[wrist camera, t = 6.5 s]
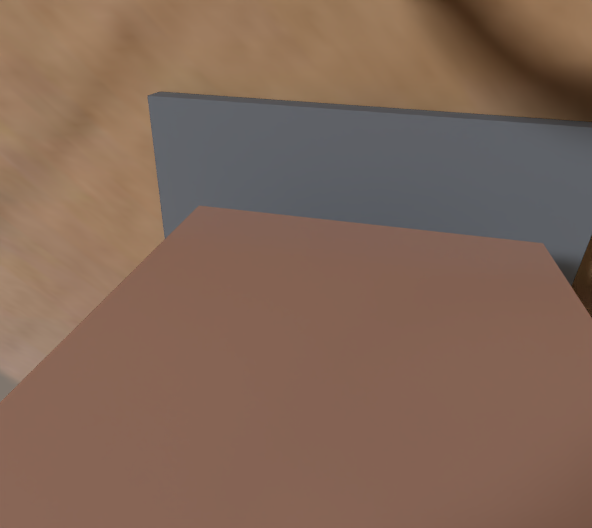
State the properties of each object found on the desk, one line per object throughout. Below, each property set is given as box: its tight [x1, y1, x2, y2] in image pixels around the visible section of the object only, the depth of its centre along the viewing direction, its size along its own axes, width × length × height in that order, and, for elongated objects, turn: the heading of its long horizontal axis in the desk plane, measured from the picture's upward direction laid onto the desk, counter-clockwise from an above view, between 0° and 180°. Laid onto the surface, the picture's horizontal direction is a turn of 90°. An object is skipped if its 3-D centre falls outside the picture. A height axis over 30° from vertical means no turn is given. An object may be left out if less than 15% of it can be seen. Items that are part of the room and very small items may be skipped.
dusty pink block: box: [0, 206, 592, 528], centre depth 7 cm, size 7×7×8 cm
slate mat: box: [148, 92, 592, 286], centre depth 12 cm, size 10×10×1 cm
